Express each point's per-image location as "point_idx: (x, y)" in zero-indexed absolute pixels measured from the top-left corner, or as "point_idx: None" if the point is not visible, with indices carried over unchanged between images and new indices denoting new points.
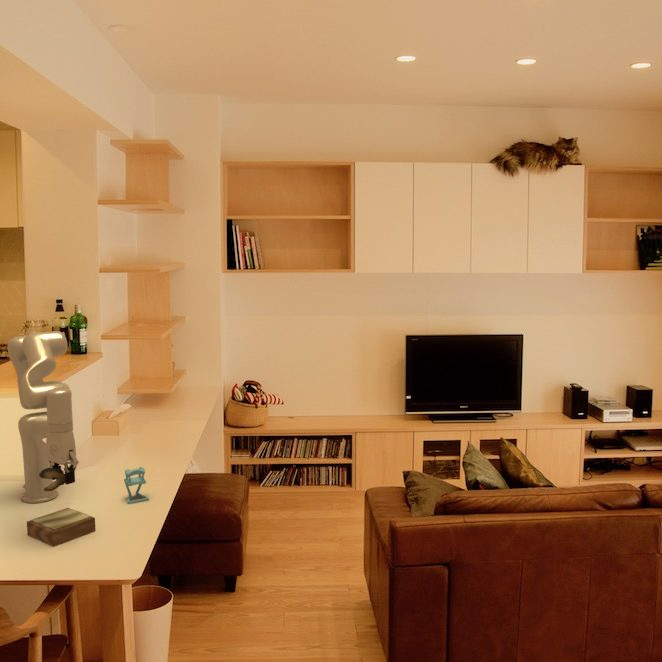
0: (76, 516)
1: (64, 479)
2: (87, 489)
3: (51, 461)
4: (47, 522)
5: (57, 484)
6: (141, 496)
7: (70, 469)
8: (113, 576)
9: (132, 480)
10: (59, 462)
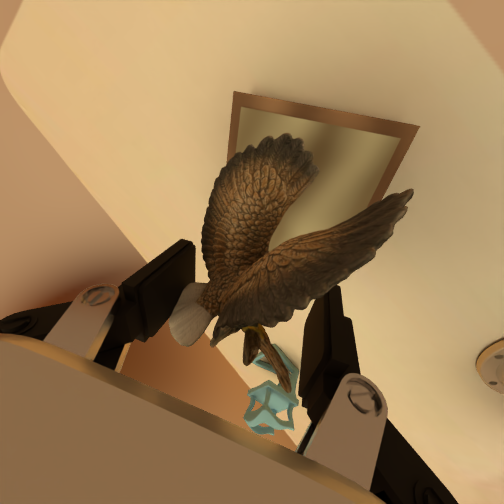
0: None
1: (209, 271)
2: (412, 397)
3: (277, 449)
4: (311, 147)
5: (216, 210)
6: (270, 367)
7: (61, 307)
8: (6, 37)
9: (276, 399)
10: (6, 372)
